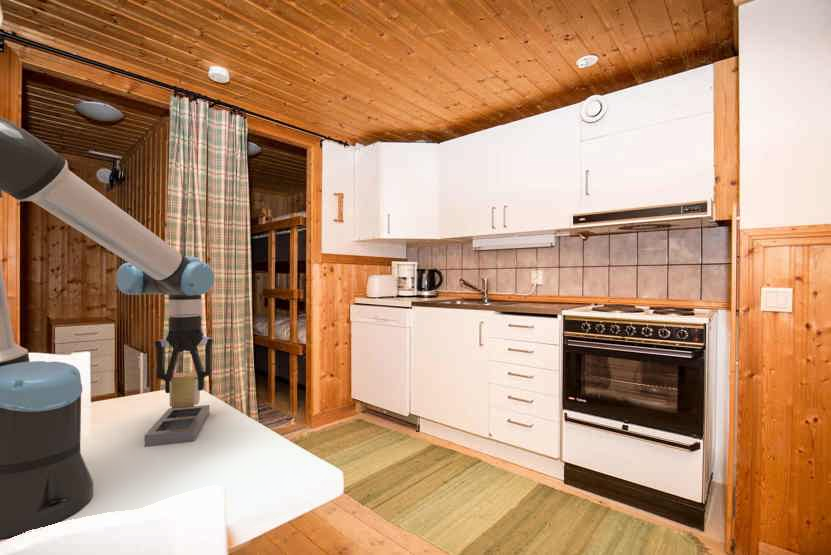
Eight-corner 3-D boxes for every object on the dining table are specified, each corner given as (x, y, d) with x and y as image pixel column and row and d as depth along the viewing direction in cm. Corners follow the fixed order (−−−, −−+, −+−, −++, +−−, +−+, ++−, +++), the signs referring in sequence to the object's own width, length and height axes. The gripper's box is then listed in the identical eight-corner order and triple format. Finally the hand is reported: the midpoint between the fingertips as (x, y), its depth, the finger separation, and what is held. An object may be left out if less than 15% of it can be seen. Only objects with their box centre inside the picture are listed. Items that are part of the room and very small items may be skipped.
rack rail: (194, 441, 93) (194, 430, 93) (144, 446, 90) (144, 435, 90) (209, 413, 112) (209, 404, 112) (168, 417, 109) (168, 408, 109)
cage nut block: (193, 406, 103) (193, 376, 104) (171, 408, 102) (171, 377, 102) (197, 401, 108) (197, 371, 108) (176, 403, 107) (176, 373, 107)
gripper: (224, 313, 112) (224, 396, 111) (150, 315, 106) (149, 403, 106) (220, 315, 104) (220, 404, 104) (140, 317, 99) (140, 411, 99)
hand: (185, 403), depth 105 cm, fingers closed on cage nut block, 5 cm apart
